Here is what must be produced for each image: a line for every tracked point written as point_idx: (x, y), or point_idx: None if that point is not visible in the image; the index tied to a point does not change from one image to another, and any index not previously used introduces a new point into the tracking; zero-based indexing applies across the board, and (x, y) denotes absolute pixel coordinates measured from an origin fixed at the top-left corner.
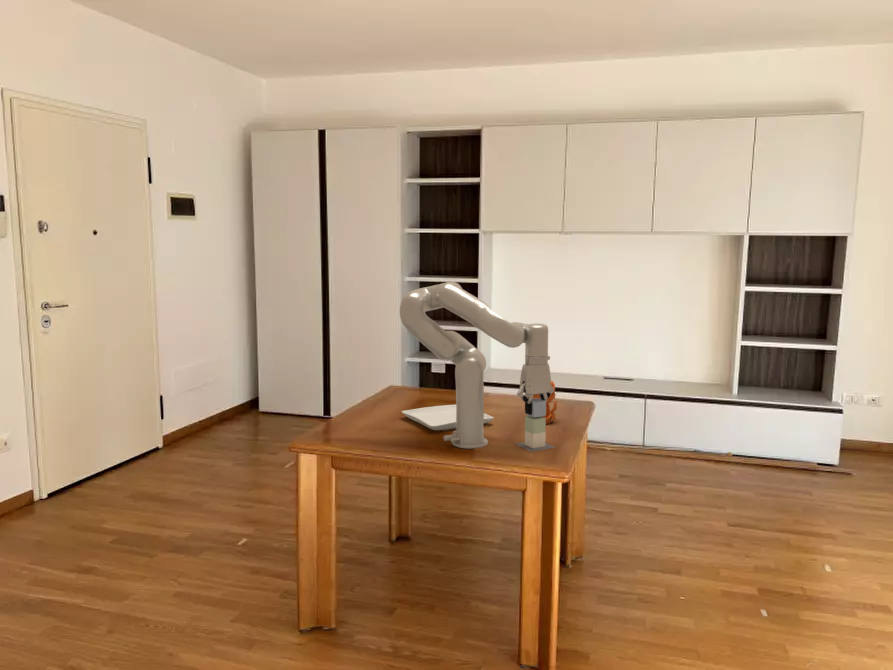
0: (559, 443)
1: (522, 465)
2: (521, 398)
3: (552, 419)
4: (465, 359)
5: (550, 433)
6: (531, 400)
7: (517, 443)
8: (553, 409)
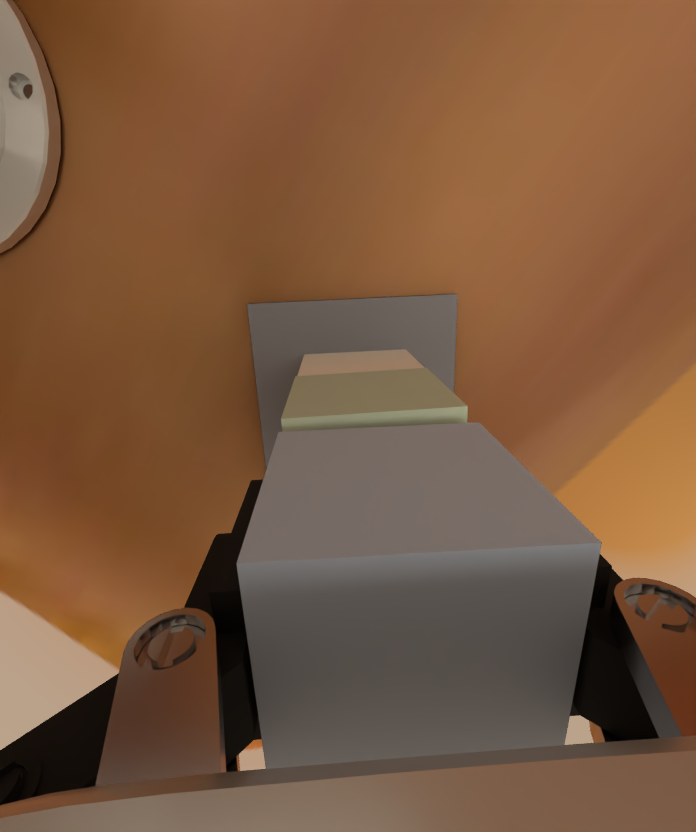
0: (540, 402)
1: (123, 635)
2: (2, 753)
3: None
4: None
5: (674, 145)
6: (329, 665)
7: (270, 306)
8: None
